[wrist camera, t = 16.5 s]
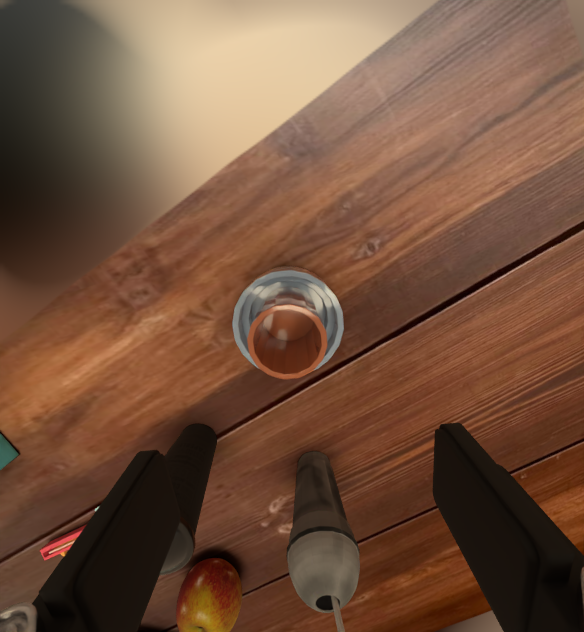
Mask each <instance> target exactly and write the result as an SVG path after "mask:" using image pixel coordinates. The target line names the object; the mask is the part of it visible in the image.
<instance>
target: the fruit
mask: <svg viewBox="0 0 584 632" xmlns="http://www.w3.org/2000/svg"><path fill="white" fill-rule="evenodd" d="M241 601H242V586H241V581H240V578H239V575H238V573H237V571H236V570H235V568H234V567H233V566H232V565H231V564H230V563H229V562H227V561H226V560H223V559H220V558H210V559H206V560H203V561H200V562H199V563H197V564H196V565H195V566H194V567H193V568H192V569H191V570H190V571H189V572H188V574H187V576H186V578H185V580H184V582H183V584H182V586H181V589H180V592H179V596H178V601H177V609H176V618H177V625H178V629H179V631H180V632H230V630H231V629H232V627H233V625H234V624H235V621H236V619H237V616H238V614H239V611H240V606H241Z"/></svg>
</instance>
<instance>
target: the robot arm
mask: <svg viewBox="0 0 584 632" xmlns="http://www.w3.org/2000/svg"><path fill="white" fill-rule="evenodd" d="M433 496H434V500H435V502H436V504H437V506H438V508H439V510H440V512H441V514H442V516H443V518H444V520H445V522H446V523H447V525H448V527H449V529H450V531H451V533H452V535H453V537H454V539H455V540H456V542H457V544H458V546H459V548H460V550H461V552H462V554H463V556H464V557H465V559H466V561H467V563H468V565H469V567H470V569H471V571H472V573H473V574H474V576H475V578H476V580H477V582H478V584H479V586H480V588H481V590H482V592H483V593H484V595H485V597H486V599H487V601H488V603H489V605H490V607H491V609H492V610H493V612H494V614H495V616H496V618H497V620H498V622H499V624H500V626H501V627H502V629H503V631H504V632H584V556H583V555H582V553H581V552H580V551H579V550H578V549H577V548H576V547H575V546H574V545H573V543H572V542H571V541H570V540H569V539H568V538H567V537H566V536H565V535H564V534H563V532H562V531H561V530H560V529H559V528H558V527H557V526H556V525H555V524H554V522H553V521H552V520H551V519H550V518H549V517H548V516H547V515H546V514H545V512H544V511H543V510H542V509H541V508H540V507H539V506H538V505H537V504H536V502H535V501H534V500H533V499H532V498H531V497H530V496H529V495H528V494H527V492H526V491H525V490H524V489H523V488H522V487H521V486H520V485H519V484H518V482H517V481H516V480H515V479H514V478H513V477H512V476H511V475H510V474H509V472H508V471H507V470H506V469H504V468H503V467H502V466H500V465H498V464H496V463H495V462H494V460H493V459H492V458H491V457H490V456H489V455H488V454H487V453H486V451H485V450H484V449H483V448H482V447H481V446H480V445H479V443H478V442H477V441H476V440H475V439H474V438H473V437H472V436H471V434H470V433H469V432H468V431H467V430H466V429H465V428H464V426H463V425H461V424H460V423H450V424H441V425H440V428H439V429H437V430H436V431H435V444H434V471H433ZM179 523H180V509H179V506H178V502H177V499H176V495H175V492H174V489H173V485H172V482H171V478H170V475H169V471H168V468H167V464H166V461H165V457H164V455H163V454H160V453H159V451H158V450H150V451H140V452H138V453H137V454H136V456H135V457H134V459H133V460H132V461H131V463H130V464H129V466H128V467H127V468H126V470H125V471H124V473H123V474H122V475H121V477H120V478H119V480H118V481H117V483H116V484H115V485H114V487H113V488H112V490H111V491H110V492H109V494H108V495H107V497H106V498H105V499H104V501H103V502H102V504H101V505H100V506H99V508H98V509H97V511H96V512H95V514H94V515H93V516H92V518H91V519H90V521H89V522H88V523H87V525H86V526H85V528H84V529H83V530H82V532H81V533H80V535H79V536H78V537H77V539H76V540H75V542H74V543H73V544H72V546H71V547H70V549H69V550H68V552H67V553H66V554H65V556H64V557H63V559H62V560H61V561H60V563H59V564H58V566H57V567H56V568H55V570H54V571H53V573H52V574H51V575H50V577H49V578H48V580H47V581H46V583H45V584H44V585H43V587H42V588H41V590H40V591H39V595H38V596H37V598H36V599H35V600H34V602H33V603H32V604H31V603H24V602H21V603H18V604H15V605H12V606H9V607H8V608H6V609H4V610H2V611H0V632H137V631H138V628H139V625H140V623H141V620H142V618H143V615H144V613H145V610H146V608H147V605H148V603H149V600H150V597H151V595H152V592H153V590H154V587H155V585H156V582H157V580H158V577H159V574H160V572H161V569H162V567H163V564H164V562H165V559H166V557H167V554H168V552H169V549H170V546H171V544H172V541H173V539H174V536H175V534H176V531H177V529H178V526H179Z"/></svg>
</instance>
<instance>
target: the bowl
mask: <svg viewBox="0 0 584 632" xmlns="http://www.w3.org/2000/svg"><path fill="white" fill-rule="evenodd" d="M288 286H289V287H296V288H299V289H302V290H304V291H305V292H307V293H308V294H309V295H310V296H311V297H312V298H313V300H314V302H315V304H316V306H317V308H318V310H319V313H320V316H321V319H322V321H323V324H324V327H325V329H326V333H327V345H328V346H327V349H326V352H325V355H324V358H323V360H322V362H321V363H320V364H319V365H318V366H317V367H316V368H315V369H314V370H316V369H318V368H319V367H321V366H322V365H323V364H324V363H326V362H327V361H328V360H329V359H330V358H331V357H332V355H333V354H334V352H335V351H336V349H337V348H338V346H339V344H340V341H341V337H342V334H343V330H344V324H343V312H342V309H341V307H340V304H339V302H338V300H337V297H336V295H335V294H334V293H333V291H332V290H331V289H330V288H329V286H328V285H327V284H326V283H325V282H324V281H323V280H322V279H321V277H319V276H318V275H316V274H314V273H312V272H311V271H309V270H307V269H304V268H299V267H294V266H284V267H276V268H273V269H271V270H268V271H266V272H264V273H262V274H261V275H259V276H258V277H257V278H256V279H255V280H254V281H253V282H252V283H251V284H250V285H249V286H248V287H247V288H246V289H245V290H244V291H243V292H242V294H241V296H240V298H239V300H238V302H237V304H236V306H235V309H234V315H233V322H232V326H233V332H234V337H235V341H236V343H237V345H238V347H239V349H240V350H241V352H242V354H243V355H244V356H245V357H246V358H247V359H248V360H249V361H250V362H251V363H252V364H253V365H254V366H255V367H257V365H256V364H255V362H254V361H253V359H252V358H251V356H250V354H249V349H248V343H247V338H248V334H249V330H250V327H251V324H252V322H253V320H254V318H255V316H256V313H257V311H258V309H259V307H260V305H261V303H262V301H263V300H264V299H265V297H266V296H267V295H268V294H269V293H270V292H272V291H273V290H275V289H278V288H281V287H288ZM257 368H258V367H257ZM259 369H260V368H259ZM314 370H313V371H314Z"/></svg>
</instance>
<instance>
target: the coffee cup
mask: <svg viewBox="0 0 584 632" xmlns="http://www.w3.org/2000/svg"><path fill="white" fill-rule="evenodd" d="M247 343H248V349H249V354H250V356H251V358H252V359H253V361H254V362H255V364H256V365H257V367H258V368H260V369H261V370H263V371H264V372H265V373H267V374H268V375H270V376H273V377H277V378H281V379H293V378H300V377H302V376H304V375H306V374H308V373H310V372H312V371H313V370H314V369H315V368H316V367H317V366H318V365H319V364H320V363H321V362H322V360H323V358H324V355H325V352H326V349H327V346H328V345H327V333H326V329H325V327H324V324H323V321H322V319H321V316H320V313H319V310H318V308H317V306H316V304H315V302H314V300H313V298H312V297H311V296H310V295H309V294H308V293H307V292H305V291H304V290H302V289H299V288H296V287H289V286H288V287H281V288H278V289H275V290H273V291H272V292H270V293H269V294H268V295H267V296H266V297H265V299H264V300H263V301H262V303H261V305H260V307H259V309H258V311H257V313H256V316H255V318H254V320H253V322H252V324H251V327H250V330H249V334H248V338H247Z"/></svg>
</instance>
